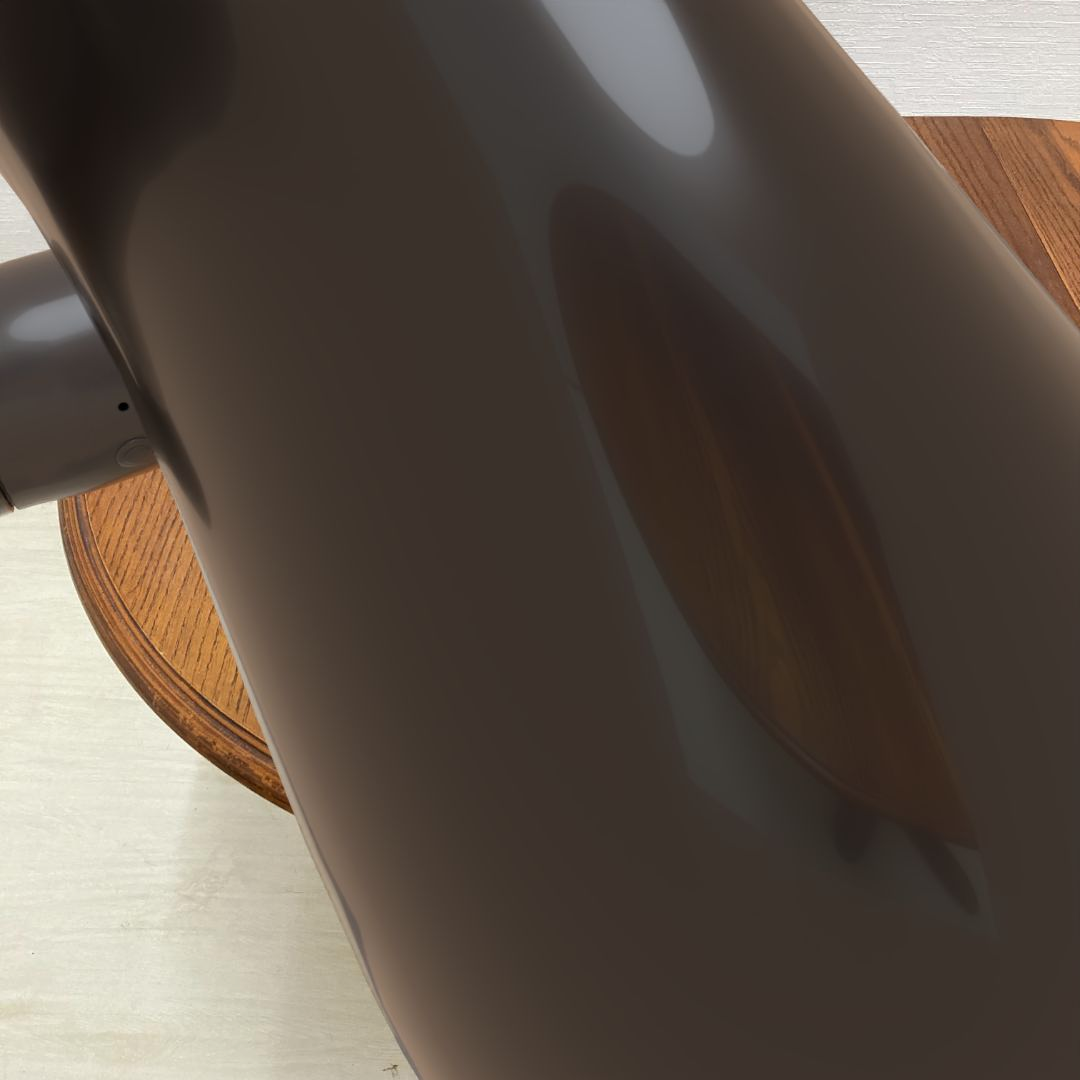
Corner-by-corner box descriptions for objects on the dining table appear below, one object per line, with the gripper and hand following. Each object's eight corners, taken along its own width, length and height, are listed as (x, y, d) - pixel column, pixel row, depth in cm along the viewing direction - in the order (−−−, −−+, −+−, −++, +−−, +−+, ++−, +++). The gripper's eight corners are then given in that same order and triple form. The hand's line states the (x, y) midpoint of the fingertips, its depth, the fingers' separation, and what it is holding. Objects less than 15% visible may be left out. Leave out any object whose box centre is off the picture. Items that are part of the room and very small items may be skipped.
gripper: (153, 393, 29) (664, 222, 34) (23, 155, 37) (452, 47, 43) (215, 579, 34) (646, 405, 40) (90, 335, 43) (462, 219, 48)
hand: (546, 220), depth 41 cm, fingers open, 8 cm apart
